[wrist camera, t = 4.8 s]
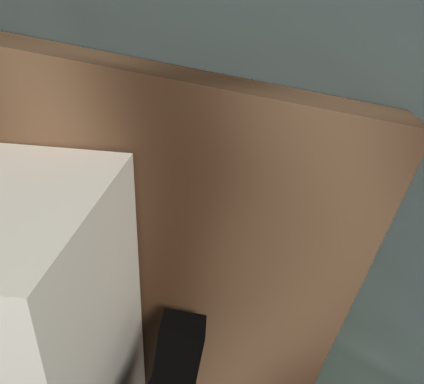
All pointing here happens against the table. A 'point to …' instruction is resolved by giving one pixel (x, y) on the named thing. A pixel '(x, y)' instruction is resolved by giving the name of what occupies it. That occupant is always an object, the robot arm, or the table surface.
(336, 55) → the table surface
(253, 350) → the tan wooden board
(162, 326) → the robot arm
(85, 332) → the cream box
